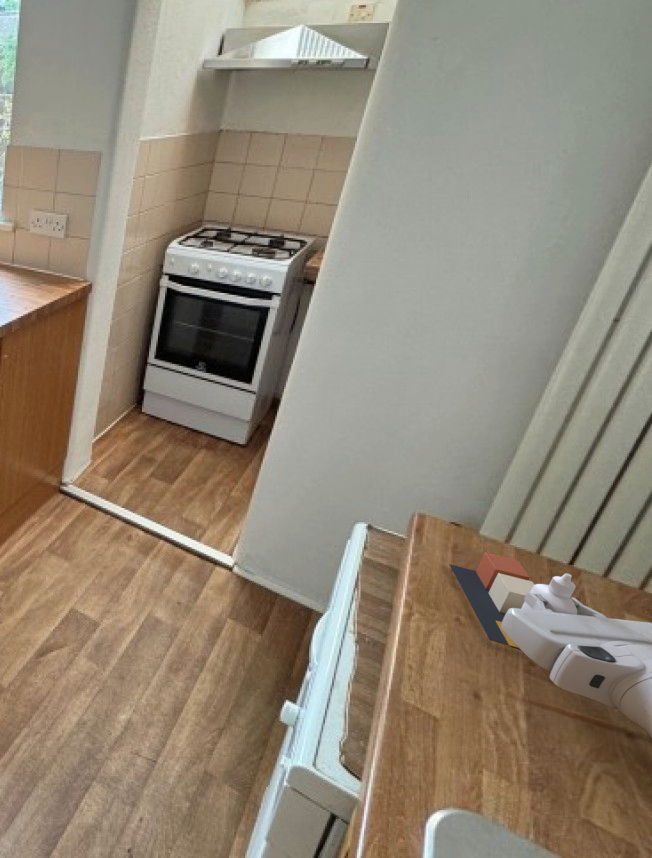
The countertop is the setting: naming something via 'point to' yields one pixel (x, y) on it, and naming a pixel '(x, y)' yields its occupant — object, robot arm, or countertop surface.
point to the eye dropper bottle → (556, 595)
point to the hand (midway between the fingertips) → (547, 598)
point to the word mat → (482, 604)
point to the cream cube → (509, 592)
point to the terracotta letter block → (498, 569)
